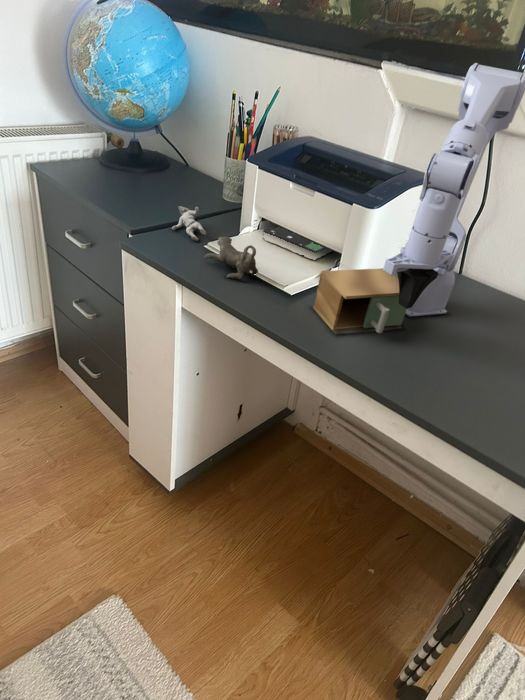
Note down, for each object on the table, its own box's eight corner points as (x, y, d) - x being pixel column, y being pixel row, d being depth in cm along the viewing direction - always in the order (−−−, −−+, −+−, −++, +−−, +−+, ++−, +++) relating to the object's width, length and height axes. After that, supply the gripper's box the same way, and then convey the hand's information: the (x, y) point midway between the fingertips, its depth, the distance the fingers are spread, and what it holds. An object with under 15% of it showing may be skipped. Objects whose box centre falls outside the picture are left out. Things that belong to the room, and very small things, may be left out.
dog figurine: (261, 280, 106) (267, 246, 102) (240, 286, 102) (245, 251, 98) (223, 257, 112) (226, 224, 108) (202, 262, 109) (205, 228, 105)
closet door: (399, 322, 98) (409, 293, 95) (411, 334, 95) (422, 303, 92) (362, 326, 95) (371, 295, 92) (373, 338, 92) (383, 306, 89)
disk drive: (260, 240, 123) (314, 262, 117) (262, 229, 122) (316, 250, 115) (285, 231, 131) (336, 250, 124) (287, 220, 129) (339, 239, 123)
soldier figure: (180, 246, 116) (160, 211, 122) (192, 255, 121) (172, 221, 126) (208, 224, 115) (186, 190, 120) (218, 234, 119) (197, 201, 125)
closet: (374, 303, 105) (385, 268, 100) (401, 328, 98) (414, 291, 93) (312, 308, 99) (321, 270, 95) (336, 335, 92) (346, 296, 88)
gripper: (440, 218, 90) (416, 289, 98) (380, 225, 83) (359, 300, 90) (473, 234, 85) (445, 307, 93) (412, 243, 78) (387, 321, 85)
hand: (405, 305), depth 91 cm, fingers closed
